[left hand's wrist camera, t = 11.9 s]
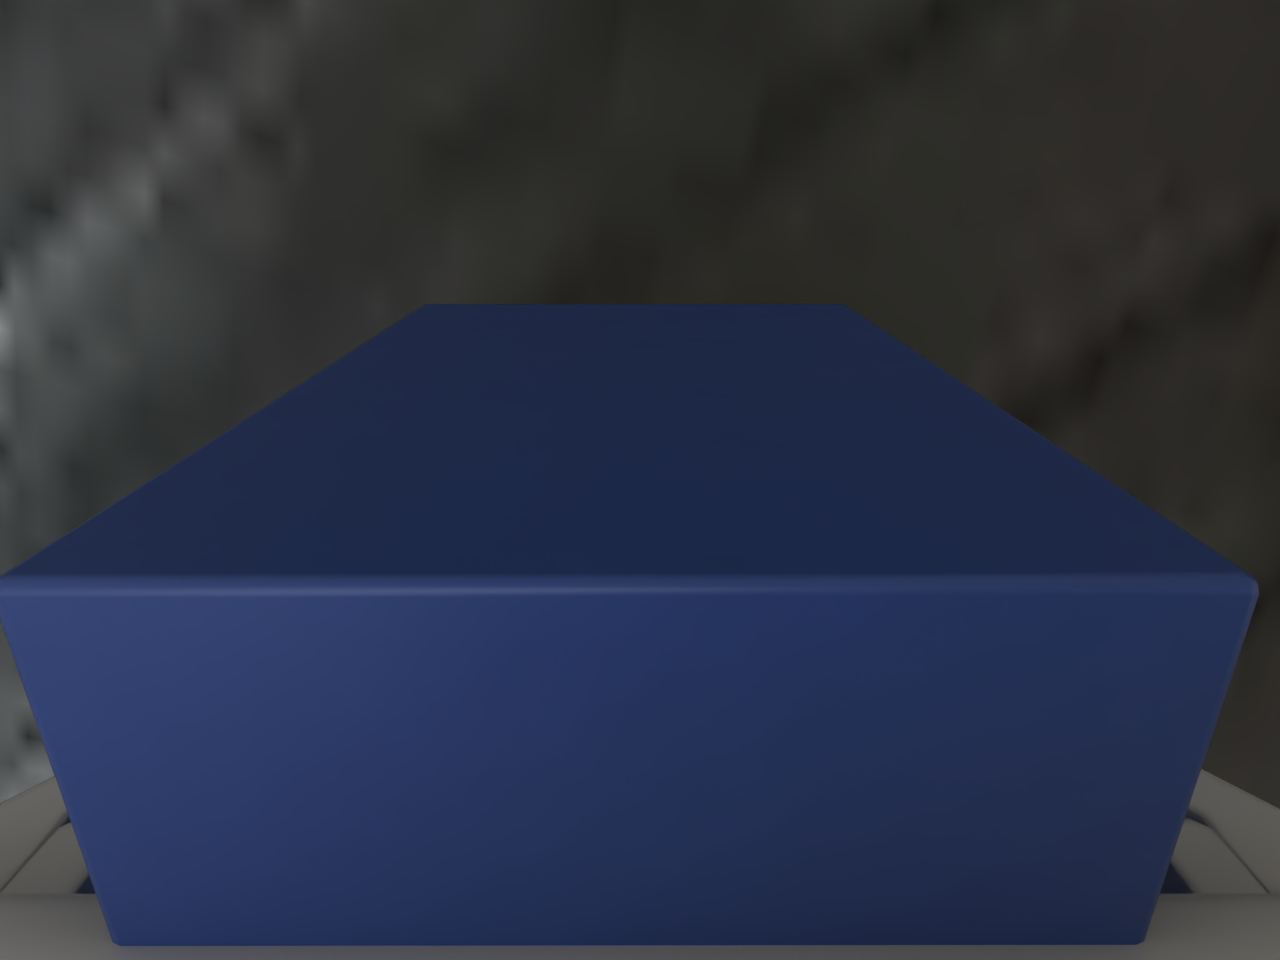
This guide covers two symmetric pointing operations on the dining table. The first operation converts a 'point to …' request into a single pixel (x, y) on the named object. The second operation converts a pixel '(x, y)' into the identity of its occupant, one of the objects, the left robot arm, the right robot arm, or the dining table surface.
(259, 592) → the box
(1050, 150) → the dining table surface
